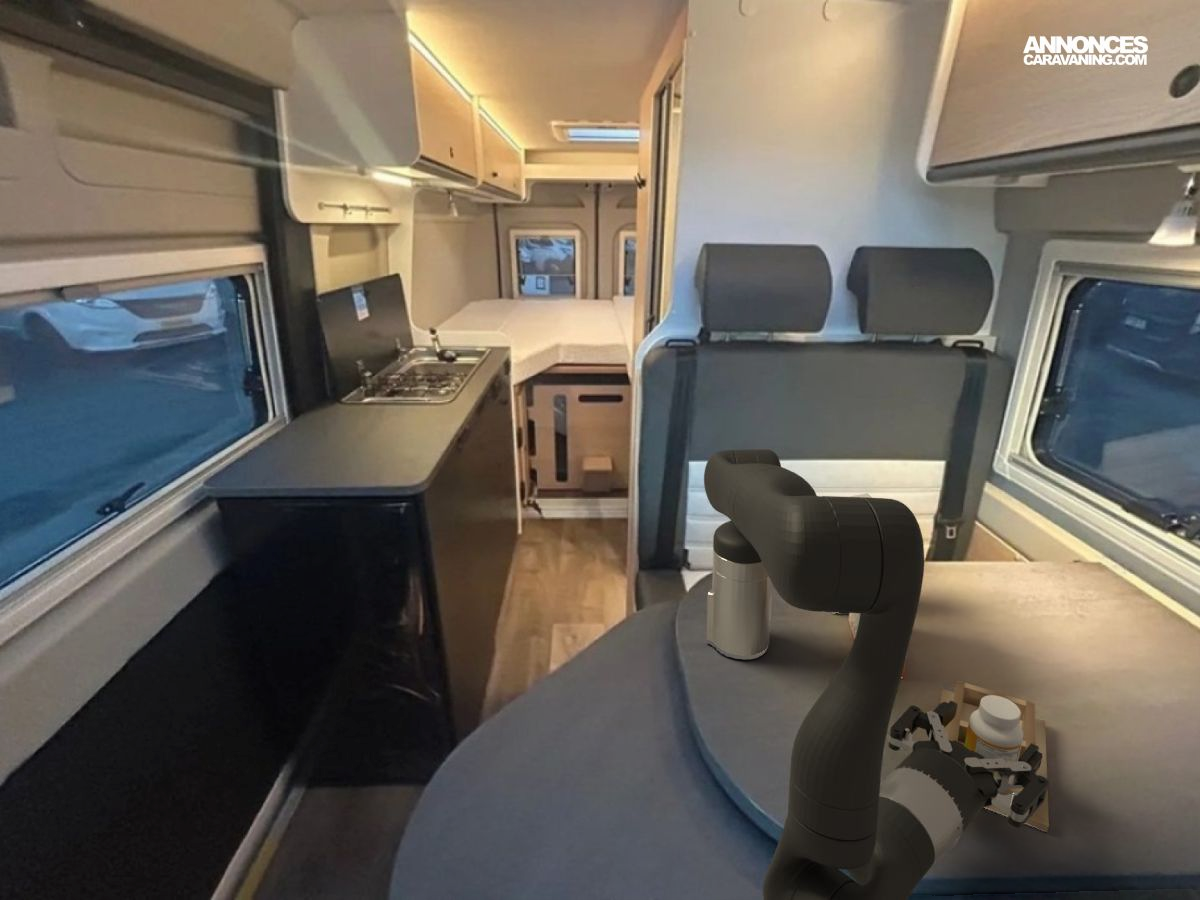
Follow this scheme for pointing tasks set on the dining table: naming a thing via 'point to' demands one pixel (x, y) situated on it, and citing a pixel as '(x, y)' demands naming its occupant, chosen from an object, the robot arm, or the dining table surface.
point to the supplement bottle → (995, 729)
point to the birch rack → (1031, 726)
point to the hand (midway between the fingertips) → (991, 728)
